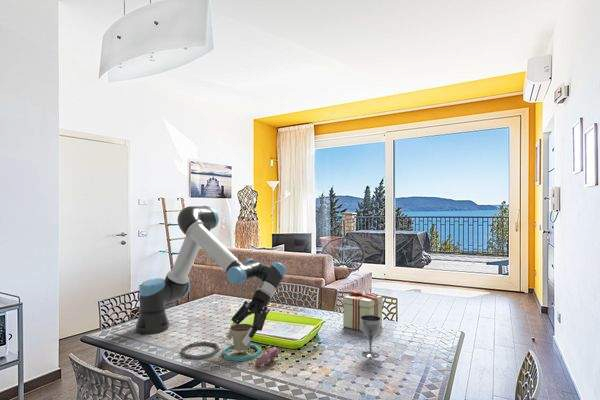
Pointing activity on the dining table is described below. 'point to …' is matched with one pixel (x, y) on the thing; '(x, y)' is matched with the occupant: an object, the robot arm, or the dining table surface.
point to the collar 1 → (200, 355)
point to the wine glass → (370, 332)
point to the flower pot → (240, 336)
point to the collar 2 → (241, 357)
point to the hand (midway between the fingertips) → (236, 341)
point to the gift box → (360, 308)
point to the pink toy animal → (267, 356)
